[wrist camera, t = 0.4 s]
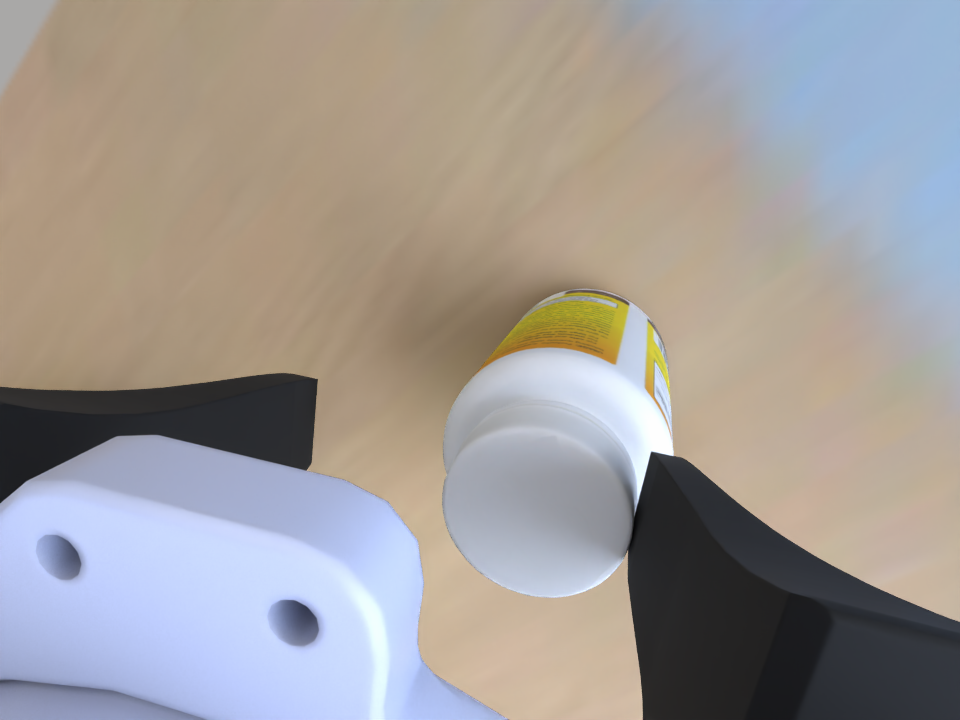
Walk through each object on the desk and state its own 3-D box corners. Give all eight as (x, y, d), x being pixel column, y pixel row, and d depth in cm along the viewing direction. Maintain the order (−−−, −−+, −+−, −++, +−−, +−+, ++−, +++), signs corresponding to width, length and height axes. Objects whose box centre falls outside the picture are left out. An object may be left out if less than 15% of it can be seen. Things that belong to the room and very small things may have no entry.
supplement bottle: (481, 356, 22) (354, 495, 13) (588, 251, 20) (529, 328, 11) (585, 460, 22) (533, 672, 13) (703, 368, 20) (743, 543, 11)
